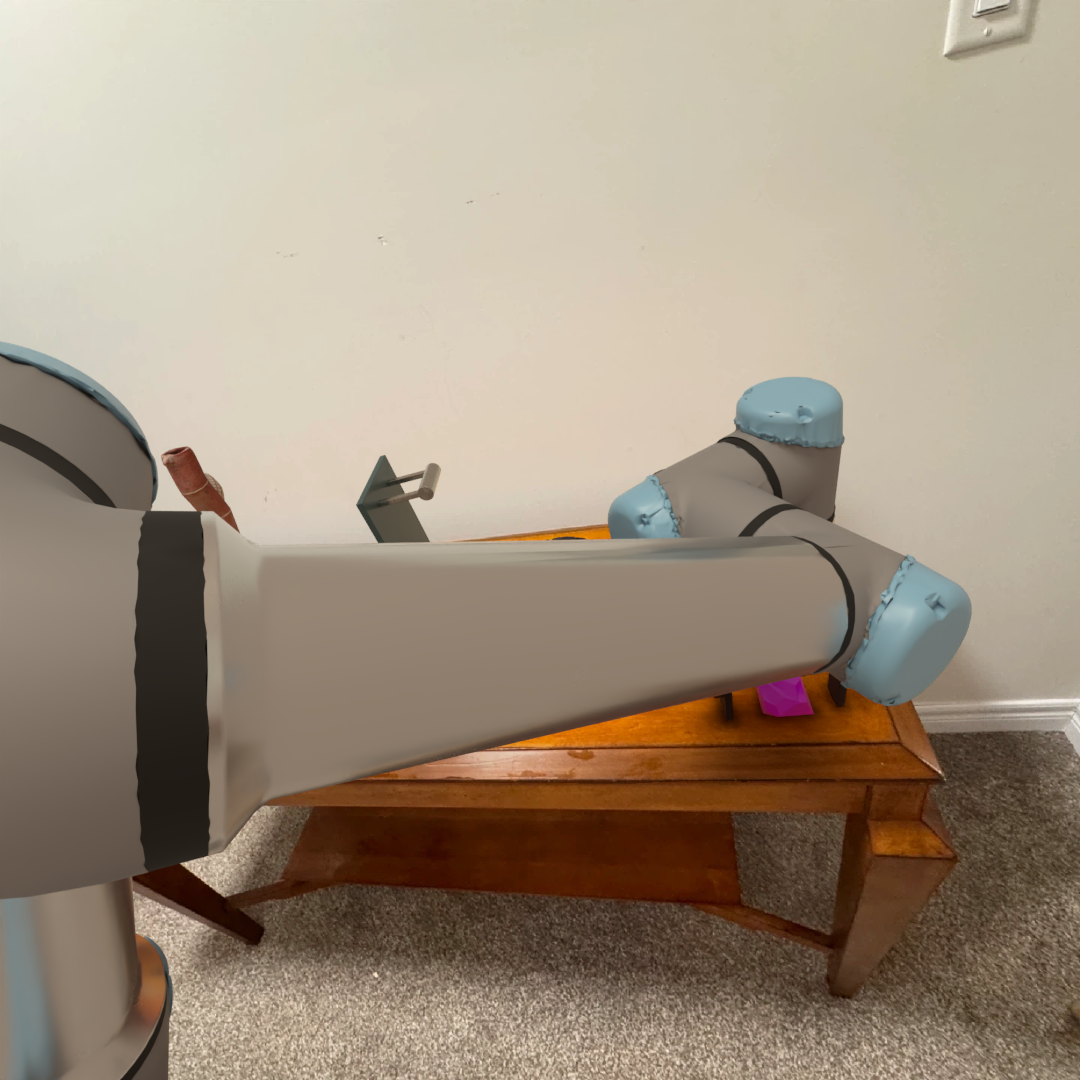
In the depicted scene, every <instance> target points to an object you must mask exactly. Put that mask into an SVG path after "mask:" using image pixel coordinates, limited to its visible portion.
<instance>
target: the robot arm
mask: <svg viewBox="0 0 1080 1080" xmlns="http://www.w3.org/2000/svg"><path fill="white" fill-rule="evenodd" d="M842 397H843V396H842V395H841V393H840V392H839V390H838V389H837V388H836V387H835V386H833V385H832V384H830V383H828V382H827V381H824V380H820V379H815V378H812V377H806V376H782V377H777V378H771V379H767V380H764V381H761V382H758V383H756V384H754V385H752V386H750V387H749V388H747V389H746V390H745V391H744V392H743V393H742V395H741V397H739V399H738V400H737V401H736V407H735V417H734V419H733V425H735V430H734V431H732V432H730V433H729V434H727V435H724V436H723V437H721V438H720V439H719V440H717V441H716V442H715V443H713V444H710V445H709V446H707V447H705V448H703V449H701V450H699V451H697V452H695V453H694V454H691V455H689V456H687V457H685V458H683V459H681V460H679V461H677V462H675V463H674V464H671V465H670V466H667V467H665V468H663V469H664V470H663V469H661V470H662V471H660V470H659V471H660V472H658V471H657V472H658V473H656V472H655V473H656V474H654V473H653V474H654V475H653V474H649V475H648V476H646V477H645V479H644V480H643V481H642V482H639V483H638V484H636V485H635V486H633V487H632V488H630V489H628V490H626V491H624V492H622V493H621V494H619V495H618V496H616V498H614V500H613V501H612V502H611V504H610V506H609V509H608V513H607V525H608V530H609V536H610V538H597V539H595V538H594V539H593V538H592V539H591V538H590V539H589V538H586V539H587V540H552V539H549V540H548V539H541V540H540V539H539V540H538V539H536V540H535V539H533V540H531V539H530V540H481V541H480V540H479V541H478V540H477V541H475V540H474V541H471V540H470V541H430V542H412V543H378V542H365V543H363V542H362V543H361V542H360V543H357V542H356V543H307V544H306V543H305V544H304V543H303V544H302V543H301V544H300V543H299V544H259V543H256V542H254V541H252V540H250V539H248V538H247V537H245V536H244V535H243V534H241V532H240V533H239V532H238V531H236V530H235V529H234V528H233V527H232V526H230V525H229V524H228V523H227V522H225V521H224V520H223V519H222V518H221V517H219V516H218V515H217V514H216V513H215V512H213V511H196V510H152V509H153V504H154V503H155V501H156V499H157V495H158V490H159V474H158V473H159V472H158V466H157V461H156V459H155V457H154V455H153V453H152V452H151V448H150V445H149V442H148V440H147V437H146V435H145V433H144V431H143V429H142V428H141V426H140V424H139V423H138V422H137V420H136V418H135V417H134V416H133V413H131V411H130V410H129V409H128V408H127V407H126V406H125V405H124V404H123V403H122V402H121V400H119V399H118V398H117V396H115V395H114V394H113V393H112V392H111V391H109V390H108V389H107V388H106V387H105V386H104V385H102V384H101V383H100V382H98V381H97V380H95V379H94V378H93V377H91V376H90V375H88V374H86V373H85V372H83V371H81V370H79V369H78V368H76V367H74V366H72V365H70V364H68V363H66V362H64V361H63V360H60V359H58V358H56V357H55V356H54V357H53V356H51V355H48V354H46V353H44V352H40V351H39V350H35V349H32V348H29V347H25V346H22V345H19V344H15V343H10V342H5V341H1V340H0V1080H169V1060H170V1059H169V1058H170V1053H169V1052H170V1018H171V1016H172V1010H173V1003H174V1002H173V1001H174V1000H173V999H174V989H173V988H174V987H173V980H172V976H171V974H170V967H169V963H168V959H167V957H166V955H165V952H164V951H163V949H162V948H161V947H160V946H159V944H158V943H156V941H154V939H152V938H150V937H149V936H143V935H140V934H138V933H137V932H136V919H135V904H134V903H135V902H134V888H133V887H134V885H133V877H135V876H136V877H137V876H139V875H144V874H147V873H150V872H153V871H157V870H161V869H164V868H168V867H171V866H175V865H180V864H183V863H184V864H185V863H187V862H191V861H194V860H199V859H202V858H205V857H209V856H214V855H217V854H221V853H224V851H225V850H226V849H227V847H228V846H229V845H230V844H231V843H232V841H233V840H235V838H236V837H237V836H238V834H239V833H240V831H242V829H243V828H244V827H245V825H246V824H247V823H248V822H249V821H250V819H251V818H252V817H253V816H254V815H255V814H256V812H257V811H259V810H260V809H261V808H262V807H263V806H265V805H266V804H268V802H270V801H271V800H276V799H279V798H284V797H288V796H293V795H297V794H302V793H306V792H310V791H314V790H318V789H323V788H328V787H333V786H335V785H341V784H345V783H348V782H353V781H357V780H361V779H366V778H370V777H373V776H378V775H383V774H387V773H392V772H395V771H400V770H405V769H408V768H409V769H410V768H413V767H417V766H418V767H419V766H421V765H426V764H431V763H434V762H438V761H443V760H448V759H453V758H457V757H460V756H465V755H469V754H474V753H479V752H483V751H485V750H486V751H487V750H491V749H495V748H498V747H499V748H500V747H503V746H508V745H512V744H516V743H520V742H525V741H529V740H533V739H537V738H538V739H539V738H541V737H546V736H550V735H555V734H560V733H564V732H567V731H573V730H576V729H581V728H584V727H589V726H593V725H594V726H595V725H597V724H601V723H606V722H610V721H615V720H620V719H623V718H628V717H632V716H635V715H641V714H644V713H649V712H653V711H659V710H661V709H666V708H671V707H676V706H679V705H680V706H681V705H682V704H688V703H692V702H696V701H700V700H705V699H709V698H714V699H720V703H721V707H722V711H723V714H724V717H725V721H726V722H729V721H734V704H733V703H734V702H733V693H735V692H740V691H744V690H748V689H751V688H752V689H753V688H756V687H757V686H761V685H766V684H770V683H774V682H779V681H783V680H787V679H791V678H796V677H801V678H802V677H807V676H811V675H818V674H822V673H828V677H827V689H828V691H829V693H830V695H831V696H832V699H833V701H834V703H835V705H836V707H837V708H838V707H845V706H846V700H847V699H846V698H847V691H848V689H851V690H853V691H855V692H856V693H858V694H859V695H861V696H862V697H865V698H866V699H868V700H869V701H871V702H872V703H875V704H877V705H878V704H879V705H882V706H884V707H895V706H900V705H903V704H906V703H908V702H910V701H912V700H914V699H915V698H917V697H918V696H920V695H921V694H922V693H923V692H924V691H925V690H927V689H928V688H929V687H930V686H931V685H932V684H933V683H934V682H935V681H937V679H938V678H939V677H940V675H942V673H943V672H944V671H945V670H946V669H947V667H948V666H949V664H950V663H951V662H952V661H953V659H954V657H955V656H956V654H957V652H958V651H959V650H960V648H961V646H962V644H963V641H964V640H965V638H966V636H967V633H968V631H969V628H970V625H971V621H972V614H973V607H972V601H971V598H970V595H969V594H968V593H967V591H966V590H965V589H964V588H963V587H962V586H961V585H960V584H959V583H957V582H955V581H954V580H952V579H950V578H948V577H947V576H945V575H943V574H941V573H939V572H937V571H936V570H934V569H933V568H930V567H929V566H927V565H925V564H923V563H922V562H920V561H918V560H917V559H916V558H915V557H914V556H913V555H911V554H909V553H907V554H906V555H904V554H902V553H900V552H898V551H895V550H893V549H891V548H889V547H886V546H885V545H882V544H880V543H878V542H875V541H873V540H872V539H869V538H867V537H865V536H863V535H861V534H858V533H856V532H855V531H852V530H849V529H847V528H845V527H843V526H840V525H839V524H836V523H835V520H836V499H837V497H836V496H837V489H838V483H839V482H838V481H839V474H840V473H839V472H840V464H841V455H842V448H843V445H844V444H845V440H846V438H845V436H844V432H843V431H844V402H843V398H842Z"/></svg>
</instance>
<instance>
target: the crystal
mask: <svg viewBox="0 0 1080 1080" xmlns="http://www.w3.org/2000/svg"><path fill="white" fill-rule="evenodd" d="M755 690H756V694H757V697H758V701H759V704H760V709H761V712H762V713H763V714H765V715H769V716H774V717H778V718H779V717H794V716H795V717H796V716H808V715H815V712H814V709H813V707H812V704H811V701H810V698H809V695H808V691H807V689H806V687H805V683H804V681H803V678H802V676H801V677H796V678H791V679H787V680H783V681H779V682H774V683H770V684H766V685H761V686H757V687H755Z"/></svg>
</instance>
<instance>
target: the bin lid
mask: <svg viewBox="0 0 1080 1080" xmlns="http://www.w3.org/2000/svg"><path fill="white" fill-rule="evenodd" d="M441 473H442V469H441V466H440V465H439V464H437V463H434V462H430V463H428V464H427V465H426V466H425V469H423V470H420V471H417V472H412V473H409V474H405V475H402V476H398V477H397V475H396V473H395V471H394V469H393V467H392V465H391V462H390V461H389V459H388V457H387V456H386V454H383V455H379V457H378V459H377V462H376V463H375V465H374V467H373V470H372V471H371V474H370V476H369V478H368V480H367V482H366V484H365V486H364V488H363V490H362V492H361V494H360V495H359V498H358V499H357V501H356V504H355V506H356V508H357V509H358V511H359V513H360V514H361V516H362V518H363V519H364V521H365V522H366V525H367V527H368V528H369V530H370V532H371V533H372V535H373V537H374V538H375V540H376V543H412V542H431V541H430V539H429V537H428V535H427V533H426V531H425V529H424V527H423V525H422V523H421V521H420V520H419V518H418V515H417V514H416V512H415V510H414V507H413V506H412V504H411V502H410V501H411V500H414V499H417V498H419V499H421V500H423V501H430V500H432V499H433V498H434V497H435V493H436V490H437V487H438V482H439V480H440V476H441ZM419 479H421V480H420V482H419V486H418V489H416V490H413V491H409V492H405V491H404V489H403V486H402V485H401V484H405V483H408V482H413V481H416V480H419Z"/></svg>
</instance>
